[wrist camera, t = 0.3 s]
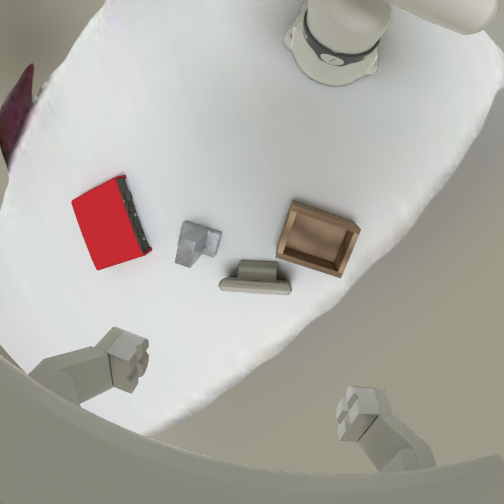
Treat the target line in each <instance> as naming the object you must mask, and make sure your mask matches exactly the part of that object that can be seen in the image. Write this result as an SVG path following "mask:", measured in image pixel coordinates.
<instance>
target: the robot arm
mask: <svg viewBox="0 0 504 504" xmlns="http://www.w3.org/2000/svg"><path fill="white" fill-rule="evenodd" d="M390 3H391V4H393V5H396V6H398V7H400V8H402V9H404V10H406V11H408V12H410V13H412V14H414V15H416V16H418V17H420V18H422V19H424V20H427V21H430V22H432V23H435V24H437V25H440V26H442V27H445V28H447V29H450V30H452V31H455V32H457V33H460V34H463V35H469V34H474V33H477V32H480V31H482V30H484V29H485V28H487V27H488V26H489V25H490V24H491V23H492V22H493V21H494V19H495V17H496V15H497V12H498V7H499V0H307V3H306V2H304V3H303V4H302V6H301V9H300V11H301V12H300V14H299V15H298V17H297V18H296V20H295V21H294V23H293V24H292V26H291V27H290V29H289V30H288V32H287V33H286V35H285V37H284V39H283V43H284V44H285V46H286V47H287V48H288V49H289V50H291V51H292V53H293V55H294V57H295V60H296V62H297V64H298V66H299V67H300V69H301V70H302V71H303V72H304V73H305V74H306V75H307V76H309V77H310V78H312V79H313V80H315V81H317V82H320V83H323V84H326V85H332V86H341V85H346V84H349V83H352V82H354V81H355V80H357V79H358V78H360V77H362V76H366V75H372V74H375V73H376V71H377V61H378V43H379V41H380V37H381V36H382V35H383V34H384V33H385V31H386V30H387V29H388V28H389V26H390V24H391V21H392V9H391V6H390ZM291 35H292V37H290V36H291ZM148 347H149V343H148V339H146V338H144V337H141V336H138V335H136V334H133V333H131V332H128V331H125V330H122V329H120V328H117V327H113V328H112V329H111V330H110V331H109V332H108V333H107V334H106V335H105V336H104V337H103V338H102V339H101V340H100V341H99V343H98V344H97V345H96V346H95V347H91V346H90V347H87V348H83V349H80V350H76V351H72V352H69V353H65V354H61V355H57V356H53V357H50V358H46V359H43V360H42V361H41V362H40V363H39V364H38V365H37V366H36V367H35V368H34V369H33V370H32V371H31V372H30V373H29V374H28V375H27V374H25V373H24V372H22V371H21V370H19V369H18V368H17V367H15V366H14V365H13V364H11V363H10V362H9V361H7V360H6V359H5V358H4V357H2V356H1V355H0V504H504V458H503V457H502V456H500V455H499V454H496V453H492V454H488V455H485V456H481V457H477V458H474V459H470V460H465V461H461V462H457V463H452V464H447V465H443V466H436V463H435V460H434V456H433V454H432V451H431V448H430V446H429V445H428V444H427V443H426V442H425V441H423V440H422V439H421V438H420V437H419V436H418V435H417V434H416V433H415V432H414V431H412V430H411V429H410V428H409V427H408V426H407V425H406V424H405V423H403V422H402V421H401V420H400V419H399V418H398V417H397V416H393V414H392V411H391V408H390V405H389V402H388V399H387V396H386V393H385V390H384V389H383V388H371V387H360V386H351V385H350V386H349V387H348V388H347V390H346V392H345V393H346V397H344V398H342V399H341V400H340V402H339V404H338V406H337V410H336V419H337V421H338V422H339V423H340V425H339V427H338V436H339V440H340V441H354V442H358V444H359V445H360V447H361V448H362V450H363V451H364V452H365V454H366V455H367V456H368V458H369V459H370V460H371V462H372V463H373V464H374V466H375V467H376V468H377V470H378V471H379V472H378V473H375V474H374V473H373V474H322V473H307V472H294V471H285V470H276V469H270V468H263V467H257V466H251V465H245V464H240V463H235V462H230V461H226V460H221V459H217V458H213V457H209V456H205V455H201V454H197V453H194V452H190V451H187V450H184V449H181V448H177V447H174V446H171V445H168V444H165V443H162V442H159V441H156V440H153V439H151V438H148V437H146V436H143V435H140V434H138V433H135V432H133V431H130V430H128V429H126V428H123V427H121V426H119V425H116V424H114V423H112V422H110V421H107V420H105V419H103V418H101V417H99V416H97V415H95V414H93V413H91V412H89V411H87V410H85V409H83V408H81V406H80V403H82V402H84V401H86V400H89V399H91V398H93V397H95V396H97V395H99V394H101V393H103V392H105V391H107V390H109V389H111V388H113V387H116V388H118V389H121V390H123V391H126V392H129V393H131V394H132V392H133V391H134V389H135V388H136V386H137V384H138V378H139V377H141V376H143V375H144V373H145V371H146V368H147V366H148V360H149V355H148V353H147V352H146V350H147V348H148Z"/></svg>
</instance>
